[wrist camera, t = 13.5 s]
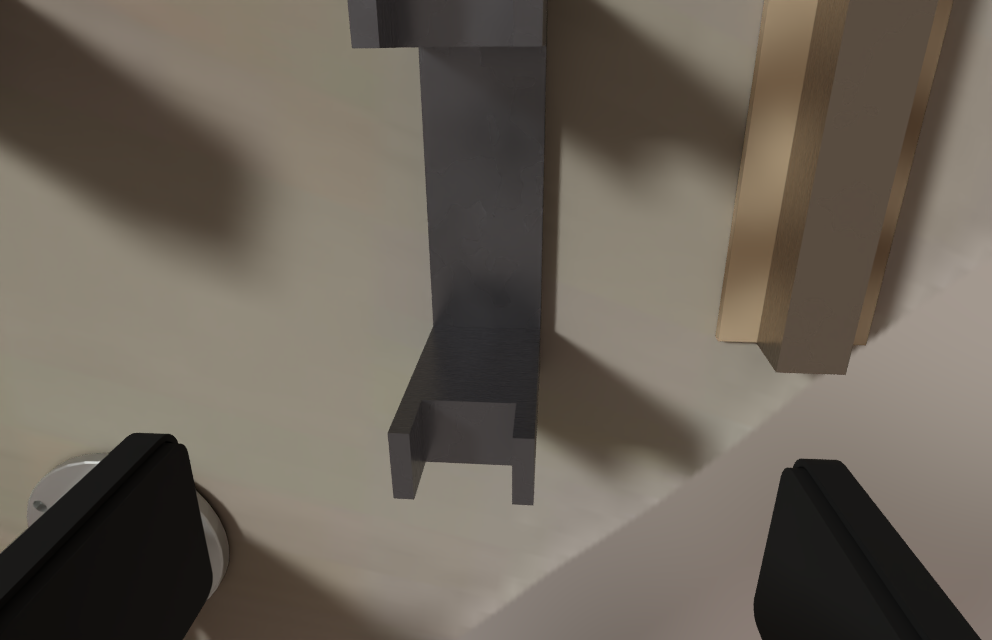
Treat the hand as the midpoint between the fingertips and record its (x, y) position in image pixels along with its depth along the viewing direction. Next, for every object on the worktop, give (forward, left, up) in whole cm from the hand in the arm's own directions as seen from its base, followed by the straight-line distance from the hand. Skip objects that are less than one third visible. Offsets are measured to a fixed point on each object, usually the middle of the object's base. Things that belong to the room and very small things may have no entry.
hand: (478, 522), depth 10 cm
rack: (0, +2, -22) cm, 22 cm away
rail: (+4, -13, -21) cm, 25 cm away
